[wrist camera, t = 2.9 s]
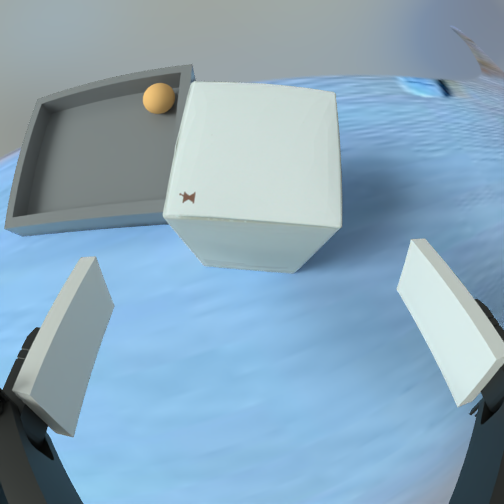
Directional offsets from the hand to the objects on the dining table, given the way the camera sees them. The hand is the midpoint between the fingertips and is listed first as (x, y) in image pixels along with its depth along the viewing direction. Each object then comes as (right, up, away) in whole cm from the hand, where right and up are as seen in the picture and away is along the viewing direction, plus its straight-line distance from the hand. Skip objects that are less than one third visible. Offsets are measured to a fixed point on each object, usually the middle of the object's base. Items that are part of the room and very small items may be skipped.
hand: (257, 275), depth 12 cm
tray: (-15, +10, +14) cm, 22 cm away
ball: (-9, +15, +14) cm, 22 cm away
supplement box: (0, +3, +13) cm, 13 cm away
